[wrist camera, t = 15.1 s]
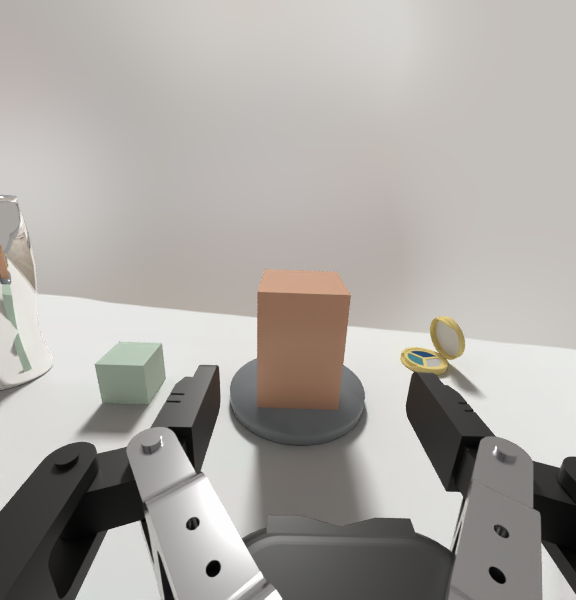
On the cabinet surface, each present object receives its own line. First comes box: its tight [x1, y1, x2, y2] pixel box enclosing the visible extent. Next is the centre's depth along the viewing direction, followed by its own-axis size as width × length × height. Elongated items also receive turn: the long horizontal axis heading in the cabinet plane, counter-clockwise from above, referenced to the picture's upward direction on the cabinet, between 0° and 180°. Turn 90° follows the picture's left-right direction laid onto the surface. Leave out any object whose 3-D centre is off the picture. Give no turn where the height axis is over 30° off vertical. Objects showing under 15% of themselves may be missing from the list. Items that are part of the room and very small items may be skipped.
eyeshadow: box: [401, 316, 465, 375], centre depth 31 cm, size 4×5×5 cm
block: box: [95, 342, 166, 405], centre depth 25 cm, size 4×4×4 cm
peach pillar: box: [257, 269, 351, 410], centre depth 24 cm, size 6×6×9 cm
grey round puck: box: [230, 358, 365, 445], centre depth 26 cm, size 11×11×1 cm
